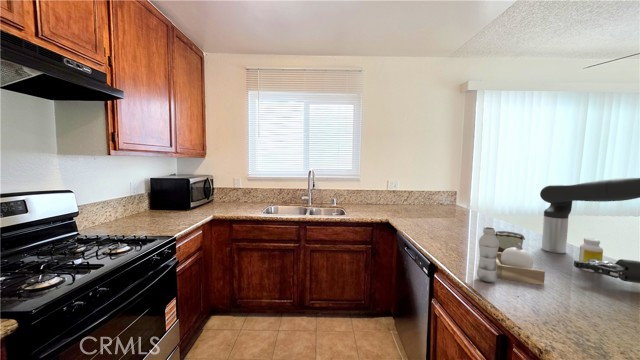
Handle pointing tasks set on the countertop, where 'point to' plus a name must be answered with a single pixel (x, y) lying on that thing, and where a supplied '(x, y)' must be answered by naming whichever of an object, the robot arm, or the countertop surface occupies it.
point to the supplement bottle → (590, 251)
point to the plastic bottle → (488, 255)
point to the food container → (508, 239)
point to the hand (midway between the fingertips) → (574, 264)
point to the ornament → (516, 257)
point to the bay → (519, 273)
